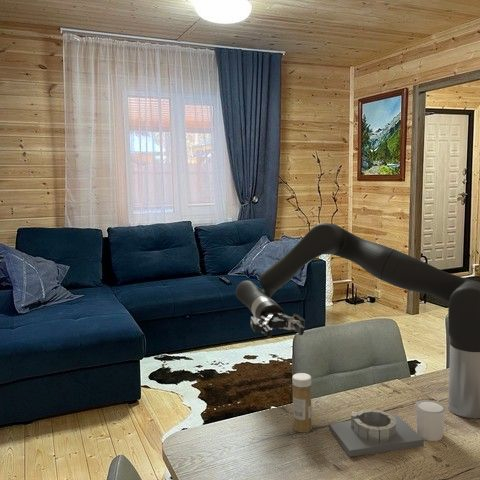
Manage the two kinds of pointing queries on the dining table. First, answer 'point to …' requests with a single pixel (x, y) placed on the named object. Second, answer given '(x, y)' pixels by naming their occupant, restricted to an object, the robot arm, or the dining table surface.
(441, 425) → the white tapered cup
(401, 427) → the socket plate
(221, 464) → the dining table surface
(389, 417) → the stone block collar
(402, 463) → the dining table surface
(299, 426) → the sprinkles bottle
